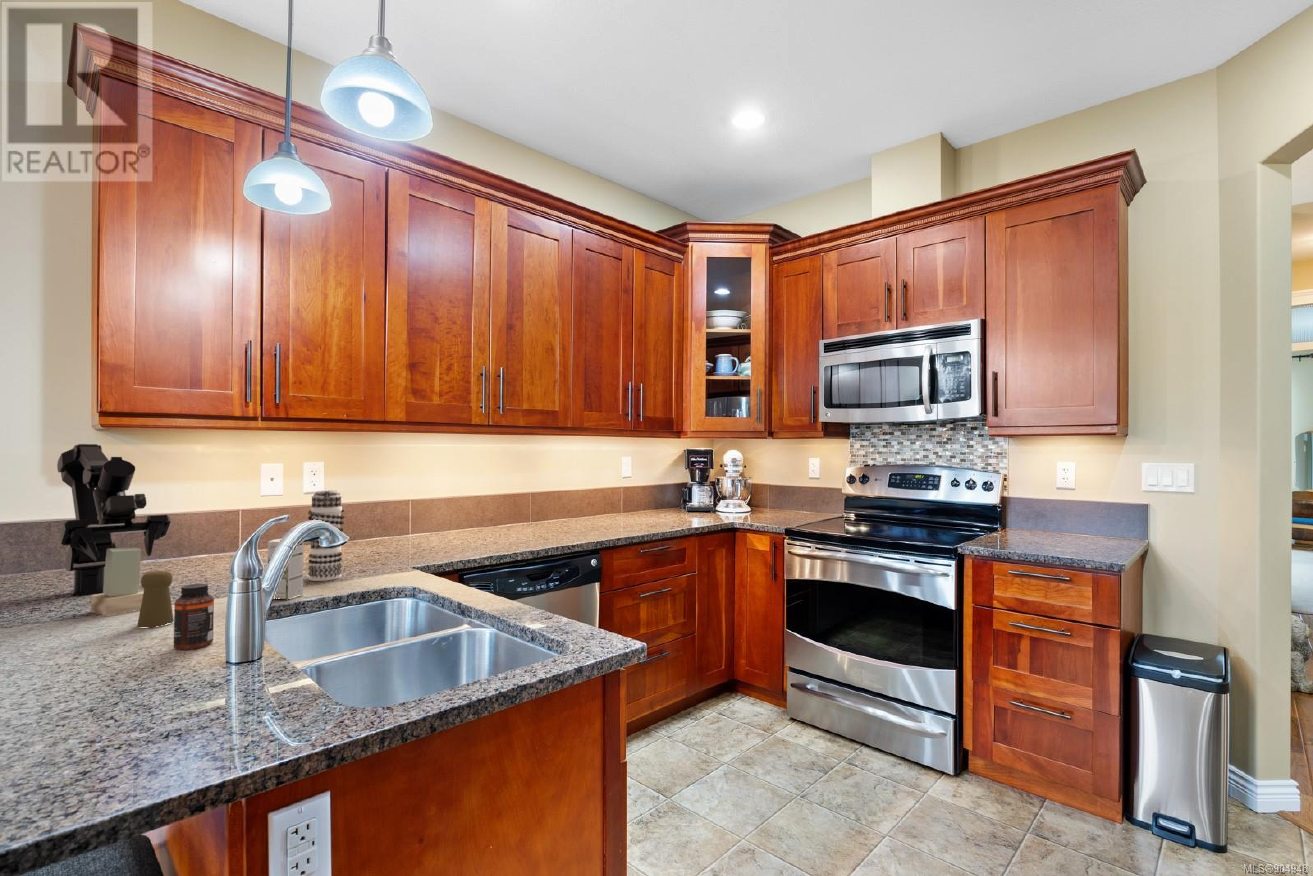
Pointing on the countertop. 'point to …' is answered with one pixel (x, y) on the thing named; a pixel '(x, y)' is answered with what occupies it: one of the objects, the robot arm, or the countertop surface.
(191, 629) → the supplement bottle
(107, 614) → the maple block
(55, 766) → the countertop surface
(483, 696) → the countertop surface
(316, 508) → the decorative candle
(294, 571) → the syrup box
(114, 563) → the sage block
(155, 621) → the cork
